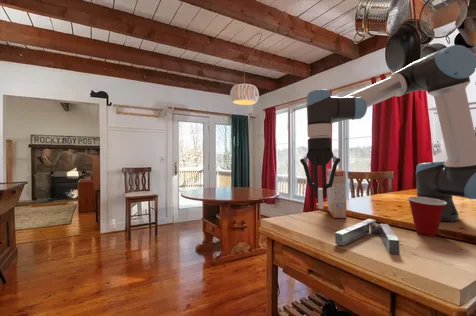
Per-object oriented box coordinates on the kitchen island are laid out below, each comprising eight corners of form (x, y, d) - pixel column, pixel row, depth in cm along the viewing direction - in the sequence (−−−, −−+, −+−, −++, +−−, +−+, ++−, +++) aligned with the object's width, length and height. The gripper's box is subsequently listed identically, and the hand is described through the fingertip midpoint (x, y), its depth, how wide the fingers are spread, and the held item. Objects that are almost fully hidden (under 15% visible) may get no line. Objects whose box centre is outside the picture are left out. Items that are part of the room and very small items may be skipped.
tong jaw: (376, 230, 89) (375, 219, 89) (342, 246, 76) (342, 234, 76) (369, 228, 91) (368, 218, 91) (335, 243, 78) (335, 232, 78)
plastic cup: (451, 240, 77) (450, 203, 77) (409, 235, 83) (408, 200, 82) (444, 230, 86) (444, 196, 86) (407, 226, 92) (406, 195, 92)
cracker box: (347, 218, 105) (346, 170, 105) (332, 218, 107) (331, 171, 106) (340, 210, 119) (339, 168, 119) (327, 210, 120) (326, 168, 120)
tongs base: (385, 231, 88) (385, 220, 88) (399, 254, 69) (399, 240, 69) (370, 230, 90) (369, 219, 89) (379, 252, 71) (378, 238, 71)
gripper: (340, 137, 82) (341, 206, 83) (300, 139, 87) (302, 204, 88) (340, 136, 75) (342, 211, 76) (297, 138, 80) (299, 209, 81)
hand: (320, 207), depth 82 cm, fingers closed
